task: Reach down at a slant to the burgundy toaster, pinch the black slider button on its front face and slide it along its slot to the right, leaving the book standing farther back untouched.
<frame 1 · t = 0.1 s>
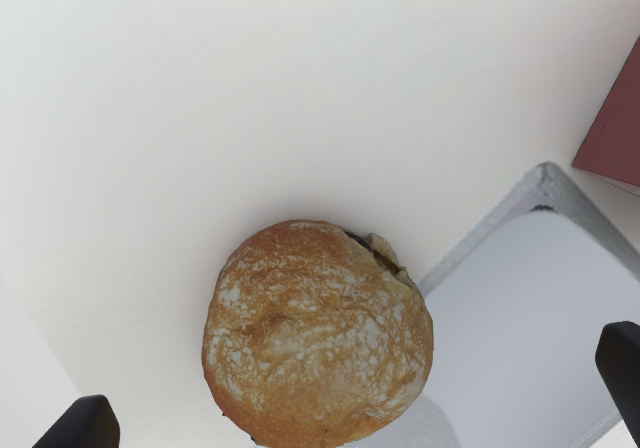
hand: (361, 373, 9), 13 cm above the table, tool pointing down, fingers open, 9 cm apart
bread roll: (312, 320, 23), on the table
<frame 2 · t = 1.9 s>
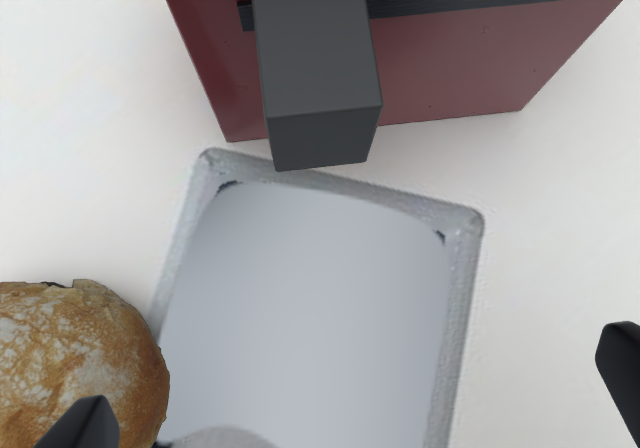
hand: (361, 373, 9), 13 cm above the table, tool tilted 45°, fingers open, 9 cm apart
toaster: (363, 47, 25), on the table
bread roll: (64, 399, 21), on the table
slider: (314, 81, 14), point 10 cm above the table, slide at 0.0 cm
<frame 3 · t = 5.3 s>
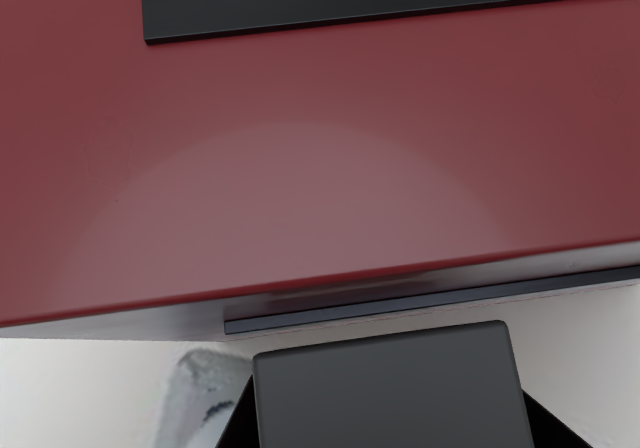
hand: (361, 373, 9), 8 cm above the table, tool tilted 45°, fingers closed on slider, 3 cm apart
toaster: (409, 191, 18), on the table
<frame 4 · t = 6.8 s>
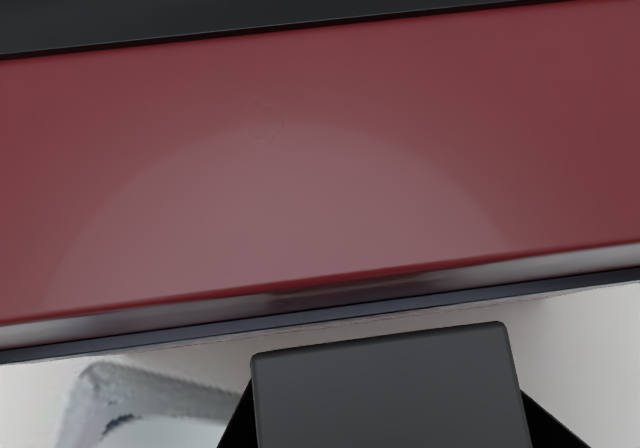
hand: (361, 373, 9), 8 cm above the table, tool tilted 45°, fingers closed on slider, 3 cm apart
toaster: (321, 202, 18), on the table
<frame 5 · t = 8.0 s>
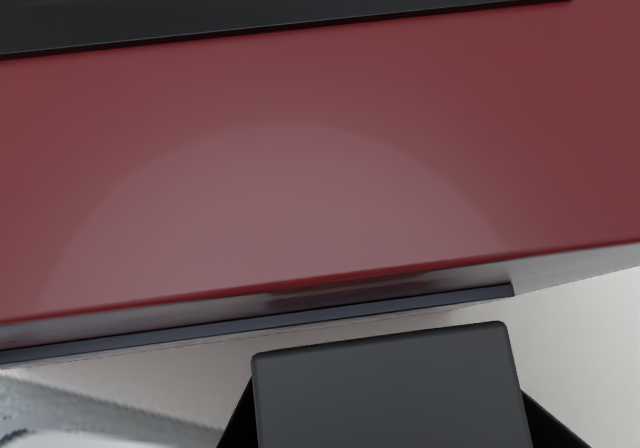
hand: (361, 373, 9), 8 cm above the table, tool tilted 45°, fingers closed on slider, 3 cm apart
toaster: (228, 213, 18), on the table
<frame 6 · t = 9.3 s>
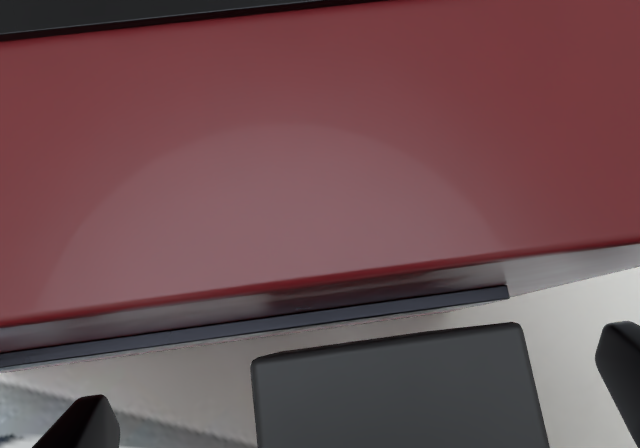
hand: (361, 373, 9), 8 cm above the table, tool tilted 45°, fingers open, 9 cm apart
toaster: (220, 213, 17), on the table
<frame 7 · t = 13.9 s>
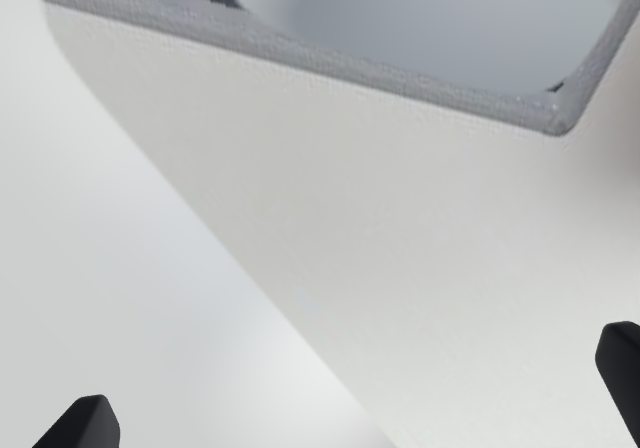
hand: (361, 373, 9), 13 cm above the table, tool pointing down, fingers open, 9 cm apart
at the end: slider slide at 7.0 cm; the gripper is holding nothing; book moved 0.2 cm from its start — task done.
